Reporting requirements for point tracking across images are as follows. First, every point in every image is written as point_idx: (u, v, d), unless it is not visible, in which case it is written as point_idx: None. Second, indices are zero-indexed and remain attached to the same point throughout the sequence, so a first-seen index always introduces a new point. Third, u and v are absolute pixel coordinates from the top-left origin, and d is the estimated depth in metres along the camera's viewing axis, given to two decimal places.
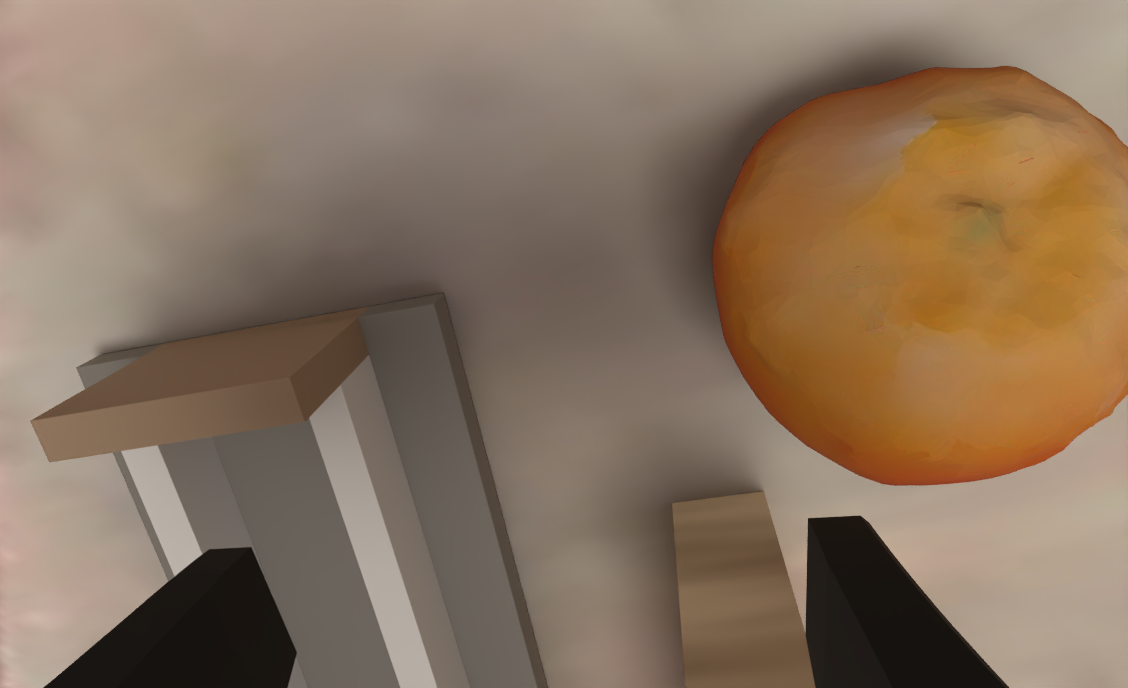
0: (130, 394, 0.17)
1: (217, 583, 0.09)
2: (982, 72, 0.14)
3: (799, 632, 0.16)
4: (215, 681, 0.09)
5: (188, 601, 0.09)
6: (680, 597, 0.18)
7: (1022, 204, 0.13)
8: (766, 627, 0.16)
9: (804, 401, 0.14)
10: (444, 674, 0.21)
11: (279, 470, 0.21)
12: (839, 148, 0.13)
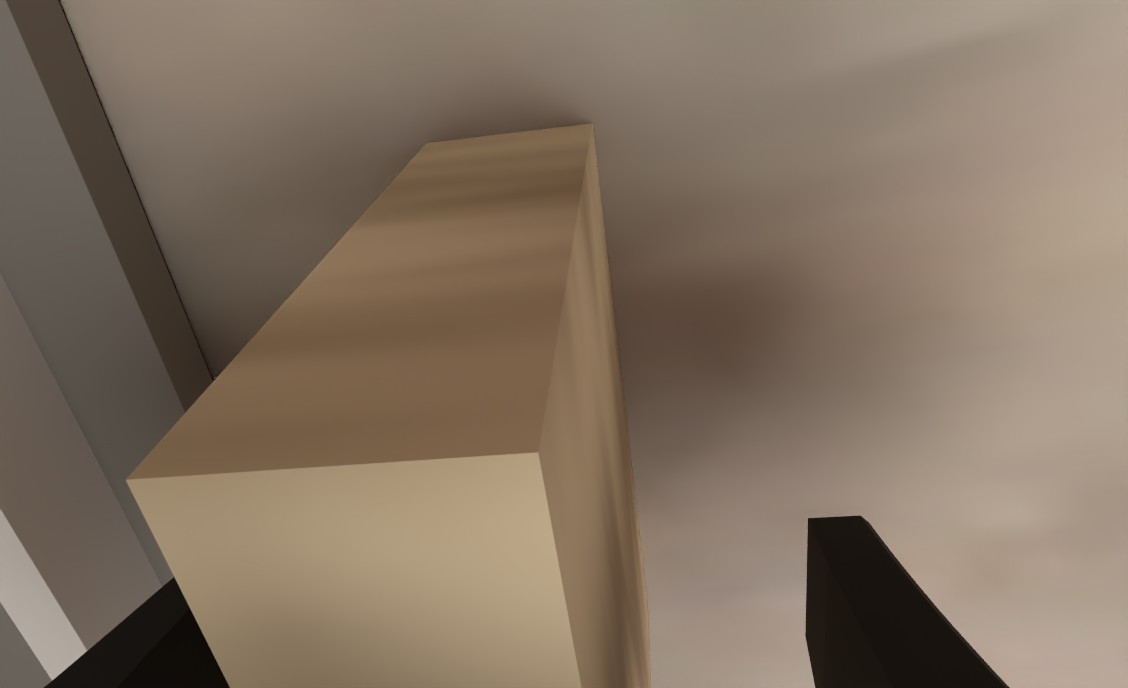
0: None
1: None
2: None
3: (553, 281, 0.06)
4: (215, 681, 0.09)
5: None
6: (340, 242, 0.08)
7: None
8: (484, 276, 0.07)
9: None
10: None
11: None
12: None
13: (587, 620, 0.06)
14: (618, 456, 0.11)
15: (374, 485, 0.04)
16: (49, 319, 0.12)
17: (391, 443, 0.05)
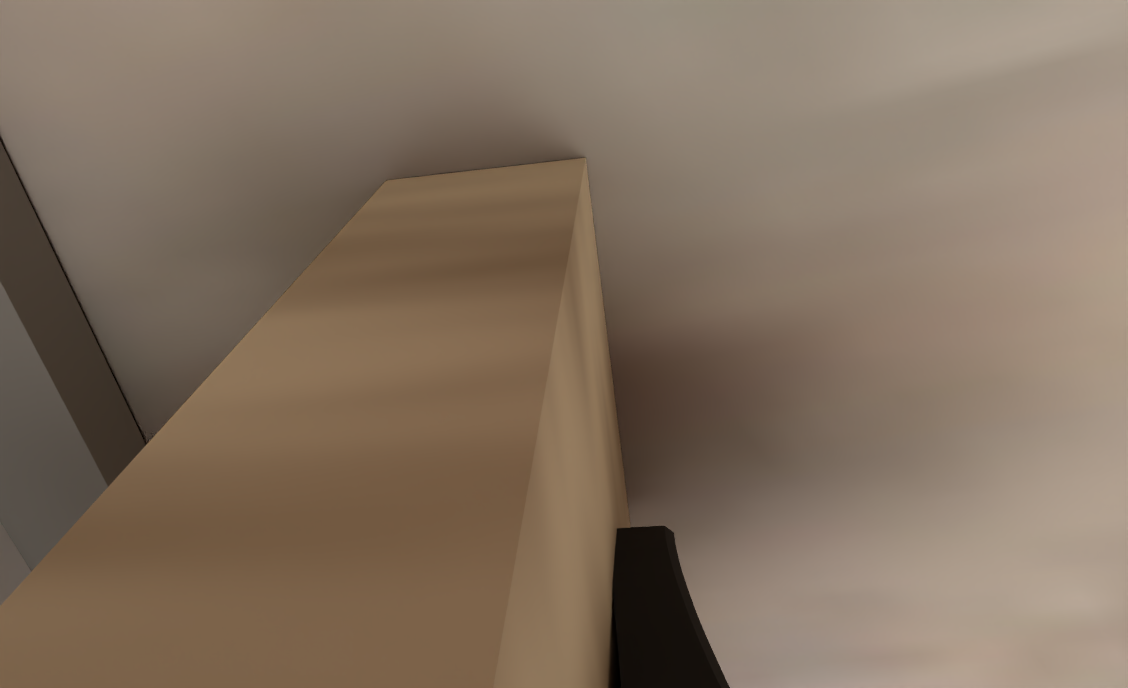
0: None
1: None
2: None
3: (519, 434, 0.04)
4: None
5: None
6: (246, 339, 0.06)
7: None
8: (425, 416, 0.05)
9: None
10: None
11: None
12: None
13: None
14: None
15: None
16: None
17: None
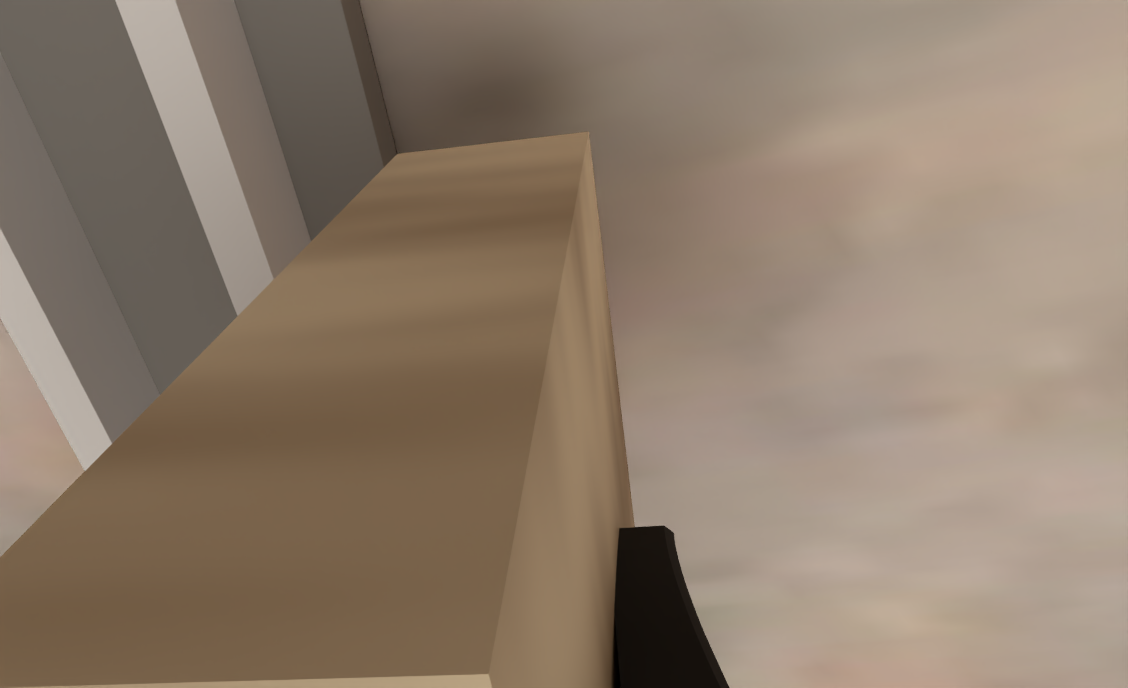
0: None
1: None
2: None
3: (531, 352, 0.05)
4: None
5: None
6: (272, 285, 0.06)
7: None
8: (443, 340, 0.05)
9: None
10: None
11: None
12: None
13: None
14: (617, 523, 0.09)
15: None
16: (317, 199, 0.16)
17: (269, 641, 0.03)
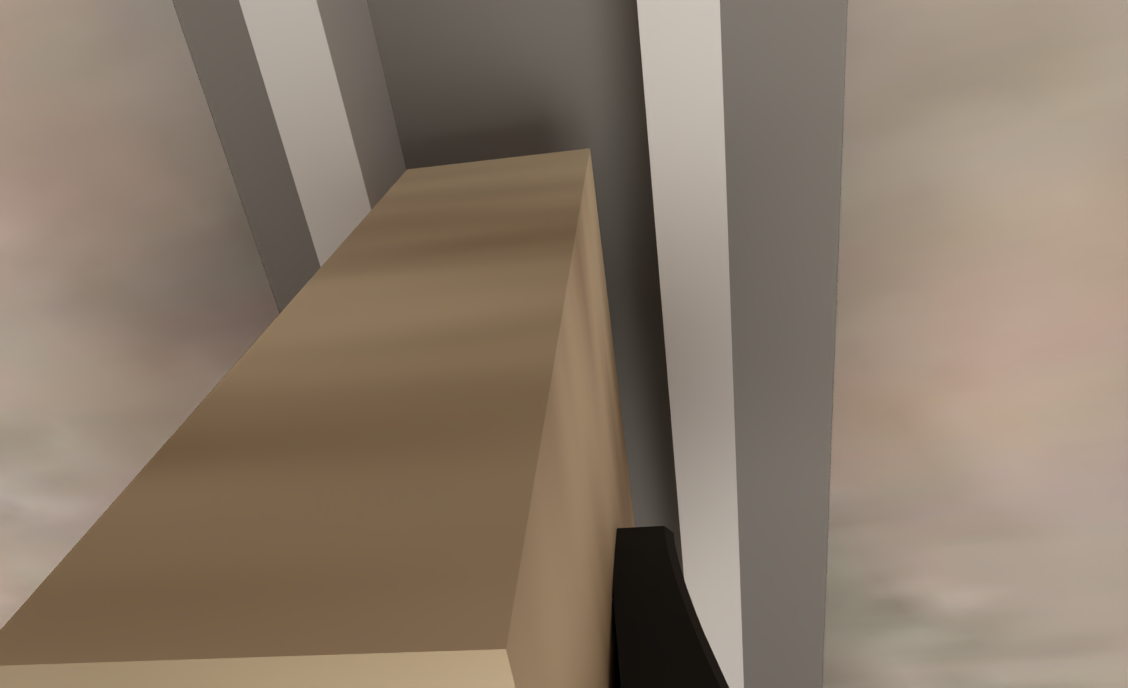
0: None
1: None
2: None
3: (538, 365, 0.05)
4: None
5: None
6: (295, 300, 0.07)
7: None
8: (456, 355, 0.06)
9: None
10: None
11: None
12: None
13: None
14: (618, 521, 0.10)
15: (293, 680, 0.03)
16: (740, 199, 0.13)
17: (316, 624, 0.03)
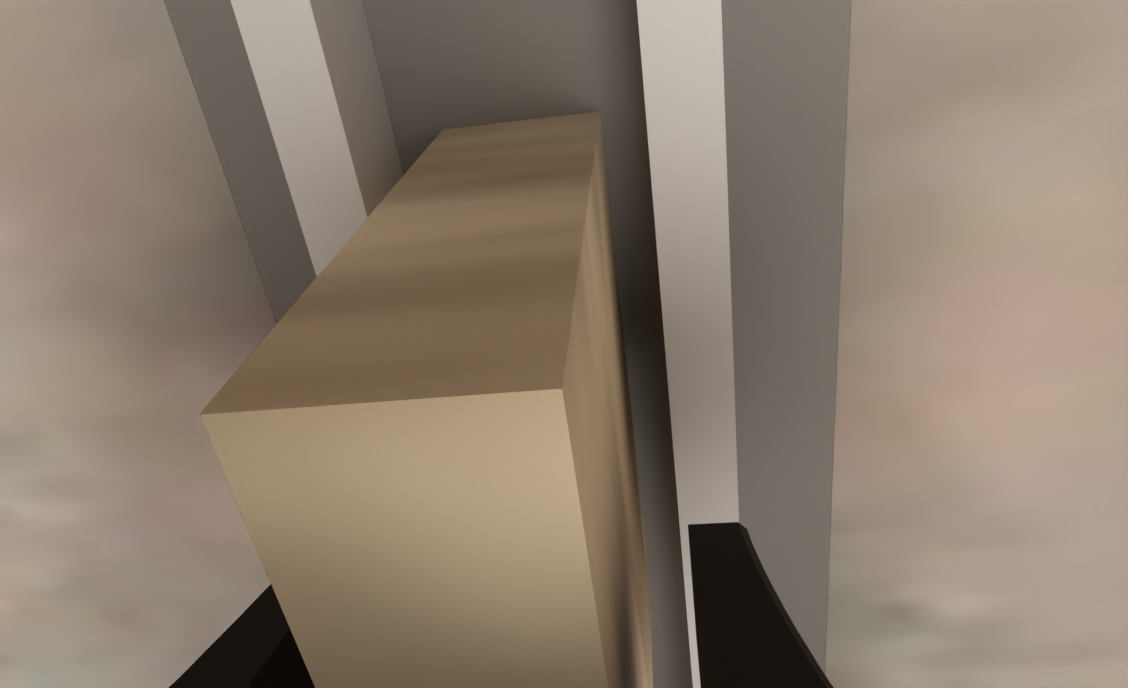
0: None
1: None
2: None
3: (569, 251, 0.07)
4: None
5: None
6: (369, 219, 0.09)
7: None
8: (505, 247, 0.07)
9: None
10: None
11: None
12: None
13: (599, 554, 0.07)
14: (623, 426, 0.11)
15: (418, 417, 0.05)
16: (742, 202, 0.12)
17: (432, 384, 0.05)
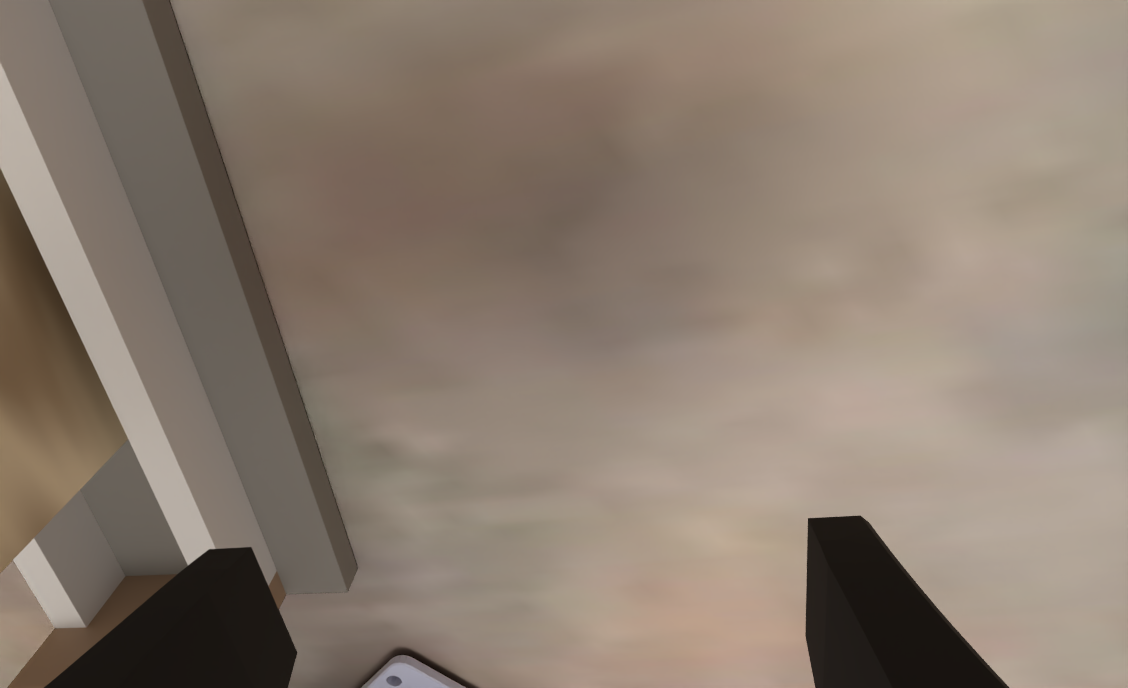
0: None
1: (217, 583, 0.09)
2: None
3: None
4: (215, 681, 0.09)
5: (188, 601, 0.09)
6: None
7: None
8: None
9: None
10: (67, 160, 0.16)
11: None
12: None
13: None
14: None
15: None
16: (103, 91, 0.17)
17: None
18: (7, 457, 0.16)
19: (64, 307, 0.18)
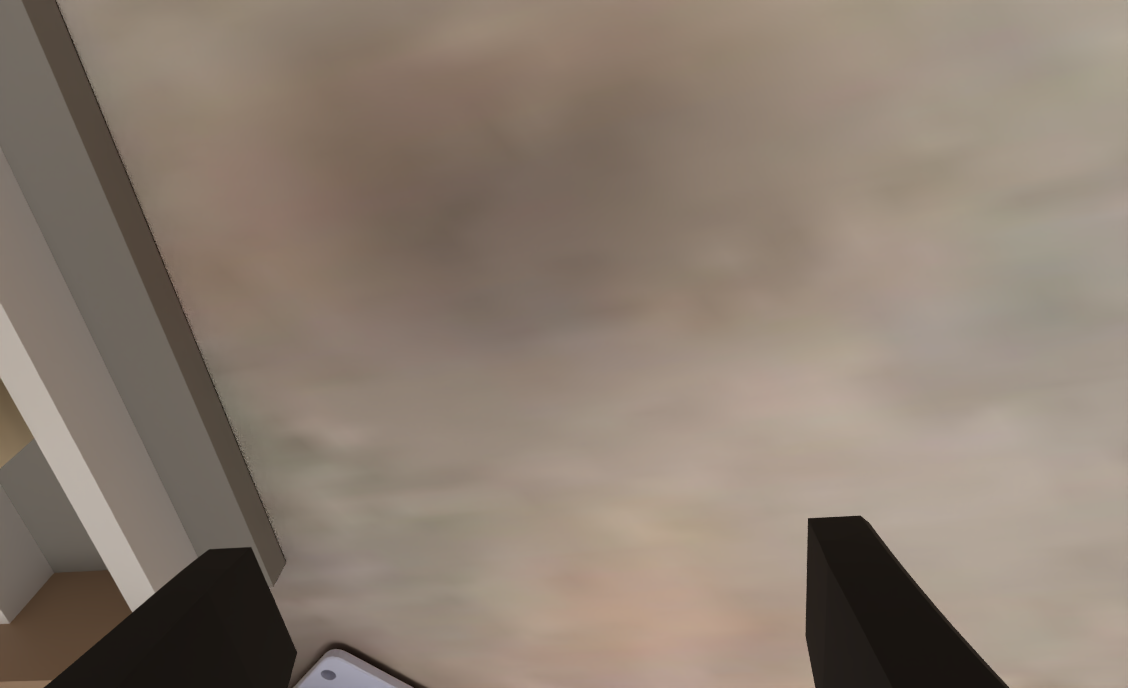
0: None
1: (217, 583, 0.09)
2: None
3: None
4: (215, 681, 0.09)
5: (188, 601, 0.09)
6: None
7: None
8: None
9: None
10: None
11: None
12: None
13: None
14: None
15: None
16: None
17: None
18: None
19: None
